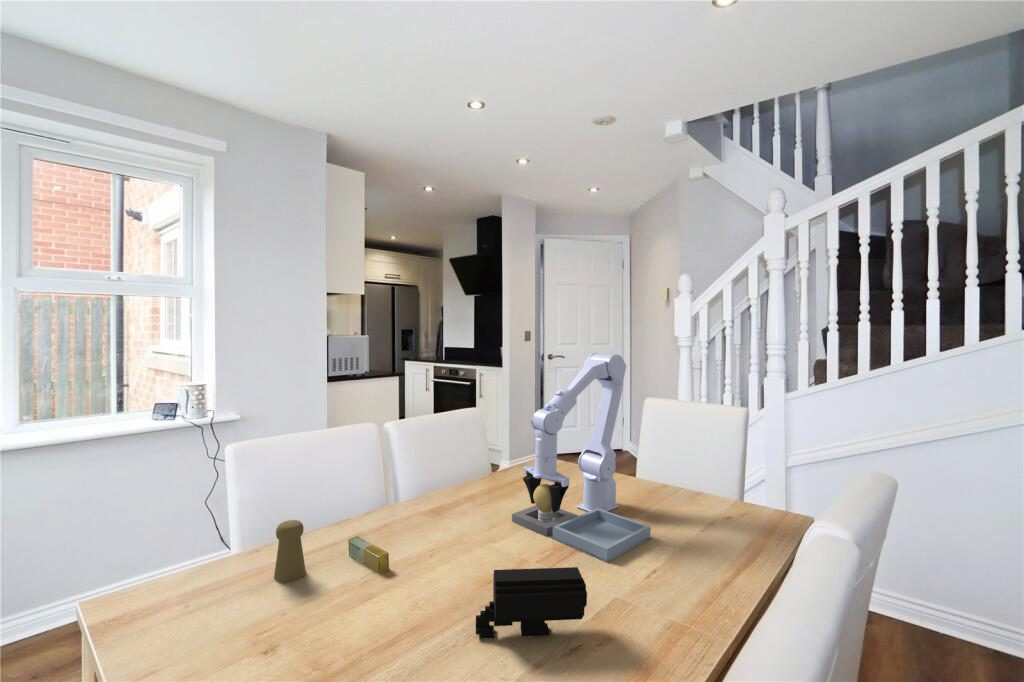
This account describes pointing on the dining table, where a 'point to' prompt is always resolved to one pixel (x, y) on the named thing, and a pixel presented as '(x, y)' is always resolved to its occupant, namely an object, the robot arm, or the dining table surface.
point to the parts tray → (601, 534)
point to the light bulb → (543, 502)
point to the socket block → (529, 521)
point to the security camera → (533, 600)
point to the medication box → (369, 554)
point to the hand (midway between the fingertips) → (545, 506)
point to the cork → (289, 552)
